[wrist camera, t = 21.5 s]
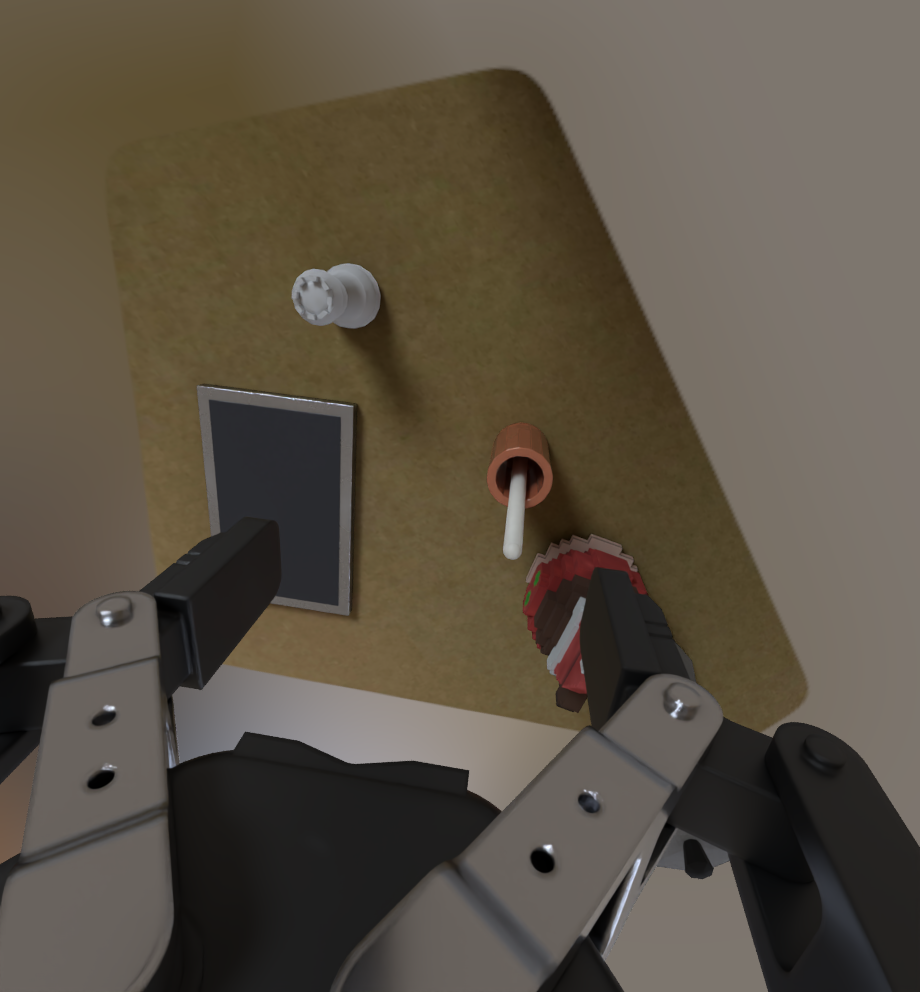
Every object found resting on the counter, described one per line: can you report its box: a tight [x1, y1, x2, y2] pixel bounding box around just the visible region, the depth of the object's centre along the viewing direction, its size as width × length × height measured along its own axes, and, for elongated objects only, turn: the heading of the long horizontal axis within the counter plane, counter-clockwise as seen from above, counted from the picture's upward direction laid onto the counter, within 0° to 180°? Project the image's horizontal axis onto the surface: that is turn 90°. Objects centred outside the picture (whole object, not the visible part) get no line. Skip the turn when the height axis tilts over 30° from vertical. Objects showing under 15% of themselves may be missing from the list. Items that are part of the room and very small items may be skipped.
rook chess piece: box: [292, 263, 381, 329], centre depth 34 cm, size 4×4×8 cm
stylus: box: [503, 456, 528, 560], centre depth 35 cm, size 1×1×13 cm
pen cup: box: [487, 423, 553, 508], centre depth 38 cm, size 4×4×7 cm
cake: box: [523, 534, 648, 713], centre depth 36 cm, size 11×9×18 cm
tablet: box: [197, 384, 357, 616], centre depth 45 cm, size 20×13×1 cm, turn 174°
